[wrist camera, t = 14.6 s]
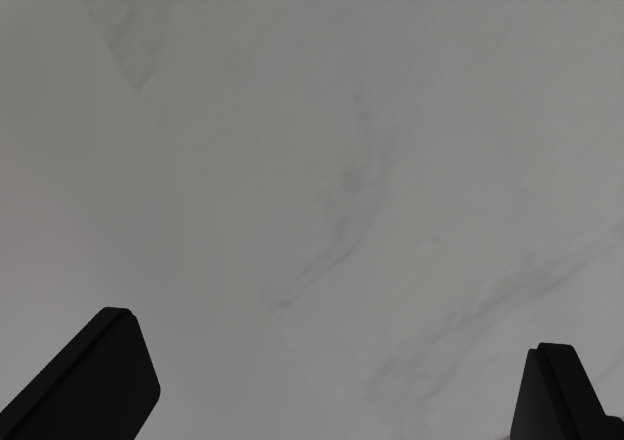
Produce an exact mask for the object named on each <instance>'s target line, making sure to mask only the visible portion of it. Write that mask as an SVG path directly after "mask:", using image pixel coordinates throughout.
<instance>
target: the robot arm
mask: <svg viewBox="0 0 624 440" xmlns="http://www.w3.org/2000/svg"><path fill="white" fill-rule="evenodd" d="M159 397H160V385H159V382H158V379H157V376H156V373H155V370H154V367H153V364H152V362H151V358H150V355H149V352H148V349H147V347H146V344H145V341H144V338H143V335H142V332H141V329H140V326H139V323H138V320H137V318H136V316H134V315H133V314H132V312H131V311H130V310H129V309H126V308H114V307H105V308H103V309H102V310H100V311H99V312H98V313H97V314H96V315H95V316H94V318H92V319H91V321H90V322H89V323H88V324H87V325H86V326H85V327H84V328H83V329H82V330H81V331H80V332H79V333H78V334H77V335H76V336H75V337H74V338H73V339H72V340H71V341H70V342H69V343H68V344H67V345H66V346H65V347H64V348H63V349H62V350H61V351H60V352H59V353H58V354H57V355H56V356H55V357H54V358H53V359H52V360H51V362H49V363H48V365H46V367H45V368H44V369H43V370H42V371H41V372H40V373H39V374H38V375H37V376H36V377H35V378H34V379H33V380H32V381H31V382H30V383H29V384H28V385H27V386H26V387H25V388H24V389H23V390H22V391H21V392H20V393H19V394H18V395H17V396H16V397H15V398H14V399H13V400H12V401H11V402H10V403H9V404H8V406H6V407H5V408H4V410H3V411H2V412H1V413H0V440H134V439H135V437H136V435H137V434H138V433H139V431H140V429H141V428H142V426H143V424H144V423H145V421H146V420H147V418H148V416H149V415H150V413H151V411H152V410H153V408H154V406H155V405H156V403H157V401H158V400H159ZM510 440H624V422H623V421H622V420H621V419H620V418H618V417H615V416H607V415H605V412H604V410H603V408H602V406H601V404H600V402H599V400H598V398H597V395H596V393H595V391H594V389H593V387H592V385H591V383H590V381H589V378H588V376H587V374H586V372H585V370H584V368H583V366H582V364H581V362H580V359H579V357H578V355H577V353H576V351H575V349H574V348H573V346H571V345H567V344H554V343H540V344H539V345H538V348H537V349H529V351H528V354H527V359H526V363H525V368H524V372H523V377H522V381H521V386H520V390H519V395H518V399H517V404H516V408H515V413H514V417H513V422H512V426H511V432H510Z"/></svg>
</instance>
